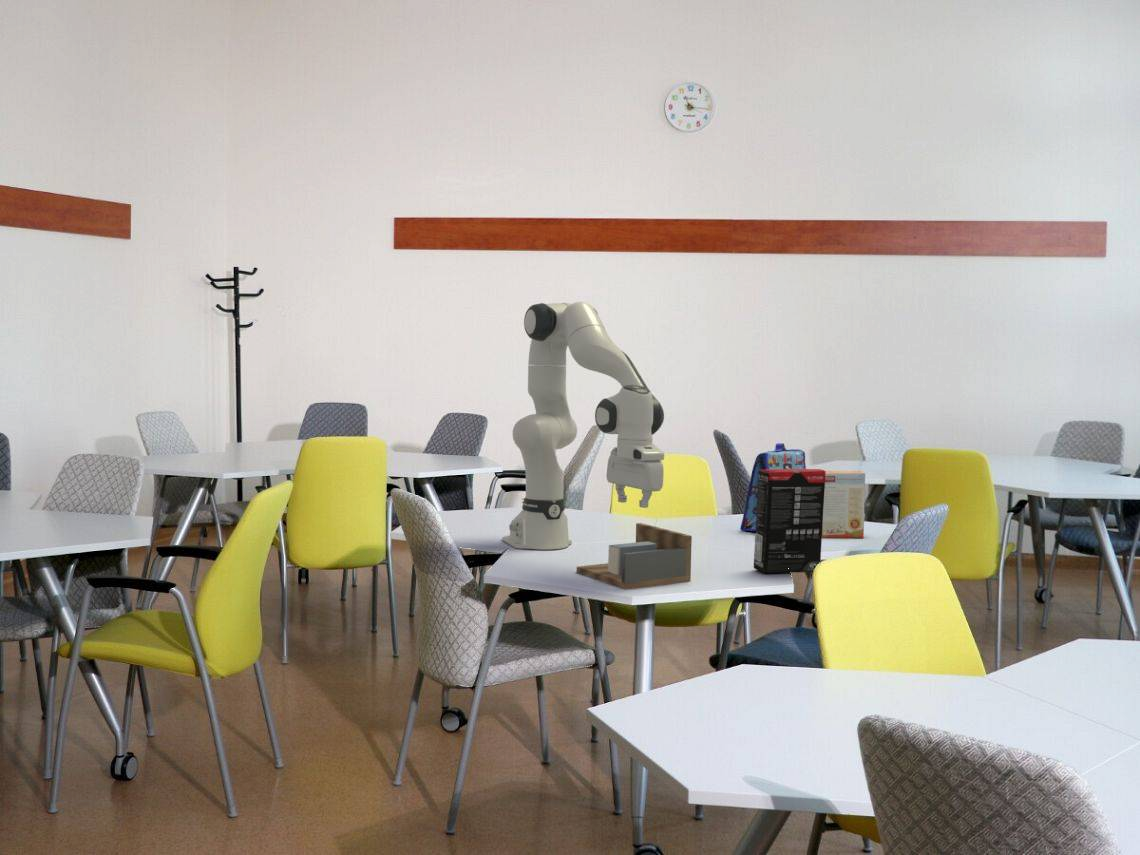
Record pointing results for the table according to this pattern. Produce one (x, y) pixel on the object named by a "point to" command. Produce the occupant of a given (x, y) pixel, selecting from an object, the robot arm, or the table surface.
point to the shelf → (663, 541)
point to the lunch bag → (768, 461)
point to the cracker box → (844, 504)
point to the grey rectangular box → (618, 549)
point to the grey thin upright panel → (653, 564)
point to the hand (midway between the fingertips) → (632, 504)
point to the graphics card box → (789, 520)
